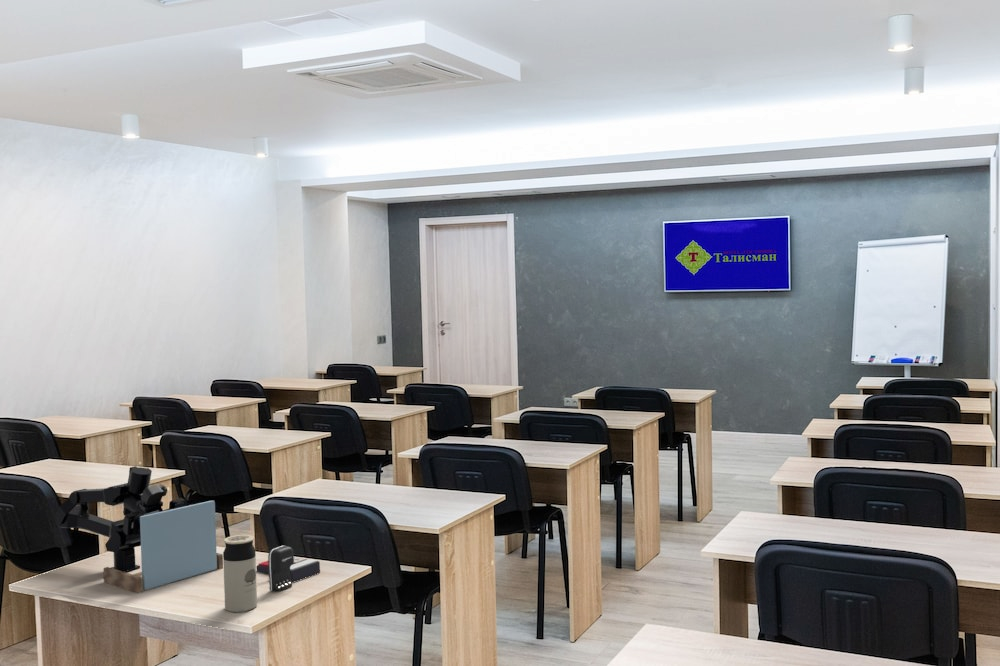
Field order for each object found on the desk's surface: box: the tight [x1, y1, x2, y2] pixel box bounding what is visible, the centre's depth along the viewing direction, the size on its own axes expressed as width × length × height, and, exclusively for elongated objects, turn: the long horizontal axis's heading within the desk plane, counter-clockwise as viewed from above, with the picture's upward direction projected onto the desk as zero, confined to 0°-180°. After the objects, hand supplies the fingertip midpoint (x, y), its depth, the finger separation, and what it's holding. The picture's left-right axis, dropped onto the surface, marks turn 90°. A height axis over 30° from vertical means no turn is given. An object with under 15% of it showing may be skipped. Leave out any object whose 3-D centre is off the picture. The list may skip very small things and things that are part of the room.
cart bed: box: [103, 552, 224, 594], centre depth 259 cm, size 17×27×5 cm, turn 143°
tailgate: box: [140, 500, 217, 591], centre depth 254 cm, size 1×23×20 cm, turn 143°
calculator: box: [256, 556, 321, 583], centre depth 261 cm, size 11×4×15 cm
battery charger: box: [267, 545, 295, 592], centre depth 247 cm, size 7×4×11 cm, turn 151°
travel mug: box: [222, 534, 258, 613], centre depth 232 cm, size 8×8×18 cm
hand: (172, 528), depth 256 cm, fingers open, 9 cm apart
